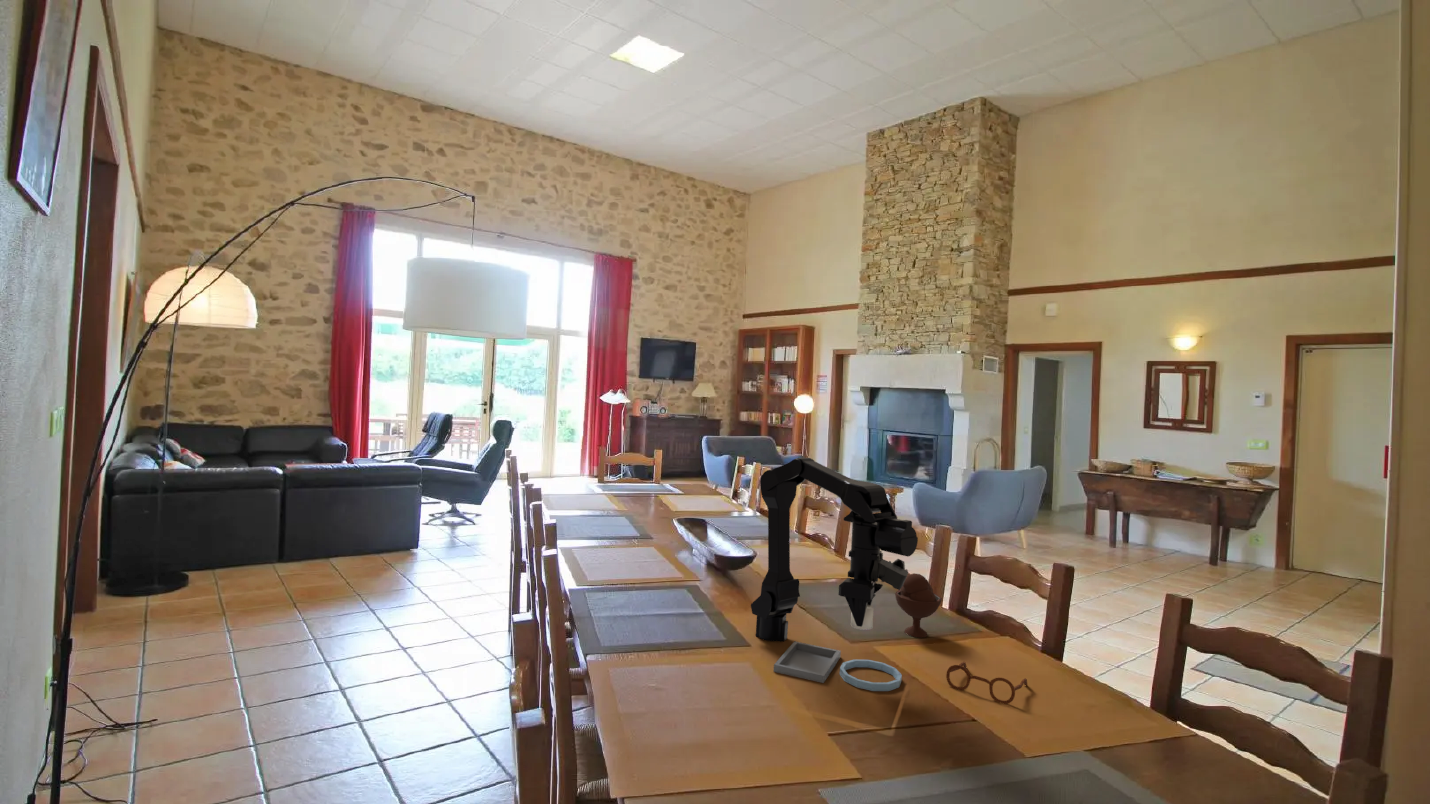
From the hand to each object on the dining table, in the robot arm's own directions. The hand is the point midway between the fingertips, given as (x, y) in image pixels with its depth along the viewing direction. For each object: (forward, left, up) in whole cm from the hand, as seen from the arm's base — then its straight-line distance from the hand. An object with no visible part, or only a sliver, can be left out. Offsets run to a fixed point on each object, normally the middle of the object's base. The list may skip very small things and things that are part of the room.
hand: (861, 622), depth 139 cm
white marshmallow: (0, 0, -1) cm, 1 cm away
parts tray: (-11, 0, -12) cm, 16 cm away
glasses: (+24, +11, -12) cm, 30 cm away
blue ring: (+2, 0, -12) cm, 12 cm away
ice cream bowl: (+7, +35, -12) cm, 38 cm away
